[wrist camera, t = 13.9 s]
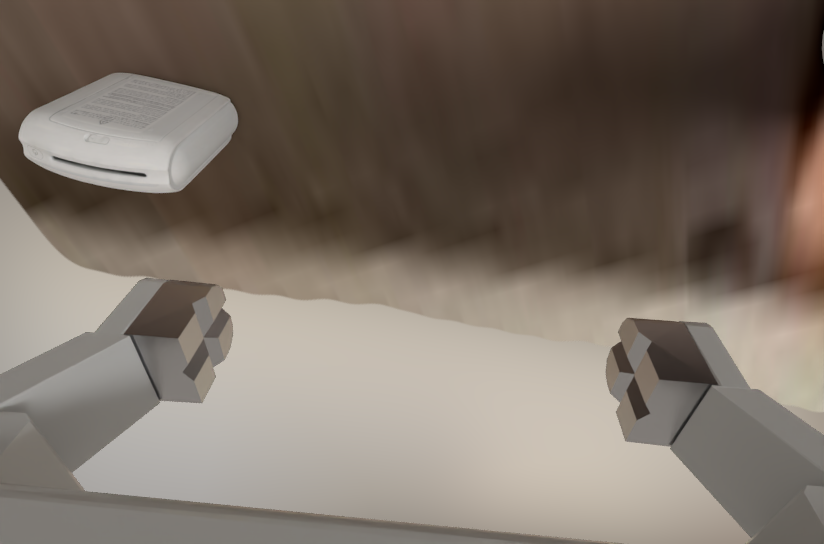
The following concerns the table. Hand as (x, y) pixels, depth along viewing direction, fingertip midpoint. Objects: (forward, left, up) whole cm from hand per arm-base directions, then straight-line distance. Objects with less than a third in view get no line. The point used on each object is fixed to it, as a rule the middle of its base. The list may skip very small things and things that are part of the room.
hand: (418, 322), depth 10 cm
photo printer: (+21, +7, -32) cm, 39 cm away
